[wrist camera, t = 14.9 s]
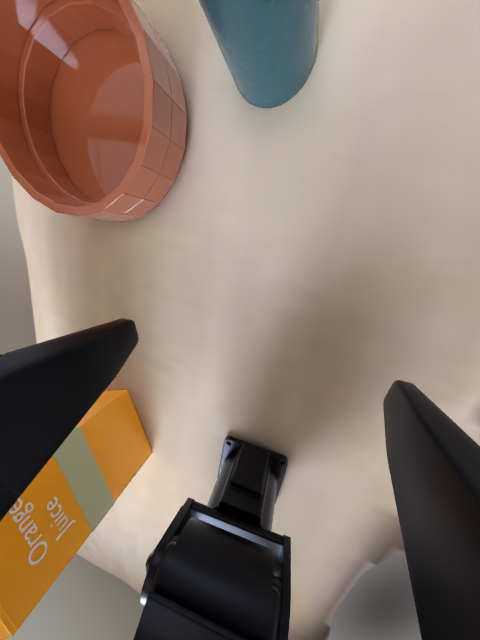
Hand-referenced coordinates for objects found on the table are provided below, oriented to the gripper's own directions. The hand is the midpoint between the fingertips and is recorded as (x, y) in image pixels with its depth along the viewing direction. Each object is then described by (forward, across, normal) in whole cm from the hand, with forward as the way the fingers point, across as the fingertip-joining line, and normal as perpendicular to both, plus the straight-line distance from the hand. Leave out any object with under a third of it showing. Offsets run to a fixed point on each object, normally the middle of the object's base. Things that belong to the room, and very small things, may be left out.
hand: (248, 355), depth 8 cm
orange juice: (+6, +17, +21) cm, 28 cm away
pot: (+14, +15, -7) cm, 22 cm away
